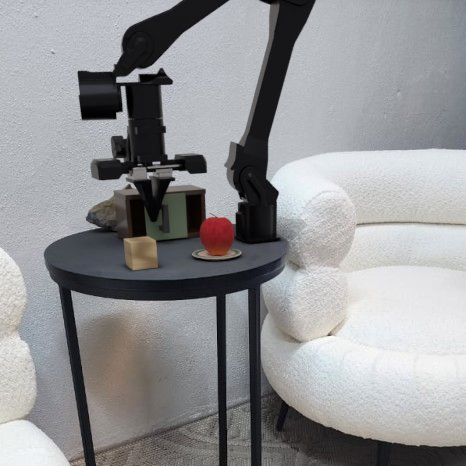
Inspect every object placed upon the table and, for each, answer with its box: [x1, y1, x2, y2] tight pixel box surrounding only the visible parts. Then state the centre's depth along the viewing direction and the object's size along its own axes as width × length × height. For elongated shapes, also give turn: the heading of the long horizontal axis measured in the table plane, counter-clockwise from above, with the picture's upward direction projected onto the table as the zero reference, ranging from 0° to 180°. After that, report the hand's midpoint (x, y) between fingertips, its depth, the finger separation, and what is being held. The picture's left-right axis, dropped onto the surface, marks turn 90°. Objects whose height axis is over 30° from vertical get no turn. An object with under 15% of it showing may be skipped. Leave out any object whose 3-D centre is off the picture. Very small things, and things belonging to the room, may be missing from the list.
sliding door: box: [144, 193, 188, 241], centre depth 121 cm, size 8×4×7 cm, turn 113°
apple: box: [191, 212, 242, 261], centre depth 110 cm, size 8×8×6 cm
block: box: [123, 236, 159, 271], centre depth 105 cm, size 4×4×4 cm
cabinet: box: [112, 184, 207, 242], centre depth 126 cm, size 15×8×8 cm, turn 113°
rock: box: [85, 183, 135, 232], centre depth 133 cm, size 11×6×10 cm
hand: (153, 221), depth 119 cm, fingers closed
